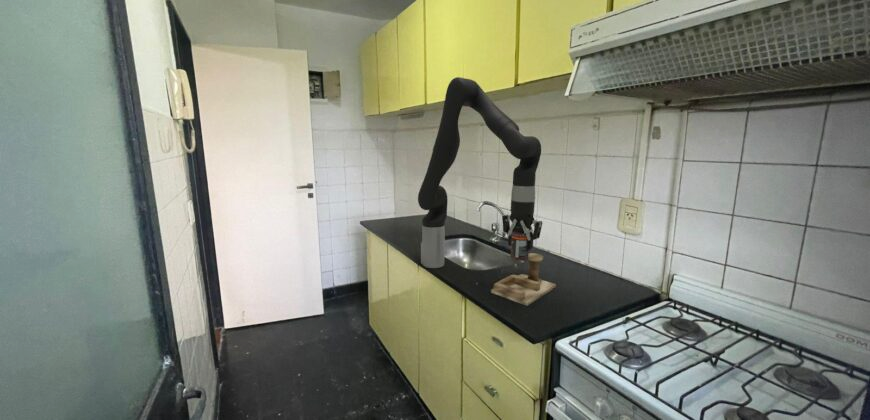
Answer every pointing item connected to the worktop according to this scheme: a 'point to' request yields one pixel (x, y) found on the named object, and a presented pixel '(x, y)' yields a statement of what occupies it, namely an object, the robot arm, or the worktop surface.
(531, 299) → the notched board
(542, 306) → the worktop surface
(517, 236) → the supplement bottle
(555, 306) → the worktop surface
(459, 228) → the worktop surface
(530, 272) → the bobbin post
